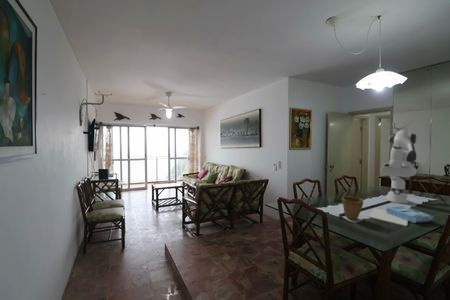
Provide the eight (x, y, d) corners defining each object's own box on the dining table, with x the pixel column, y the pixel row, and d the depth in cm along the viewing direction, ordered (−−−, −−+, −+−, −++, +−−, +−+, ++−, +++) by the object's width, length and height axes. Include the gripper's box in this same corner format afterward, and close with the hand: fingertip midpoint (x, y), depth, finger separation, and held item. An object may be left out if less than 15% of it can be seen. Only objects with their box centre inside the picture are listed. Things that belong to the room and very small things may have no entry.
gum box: (385, 212, 187) (415, 223, 165) (386, 206, 186) (415, 217, 164) (402, 211, 192) (432, 222, 170) (403, 205, 191) (433, 215, 169)
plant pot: (342, 213, 184) (344, 195, 182) (363, 218, 174) (364, 199, 173) (339, 218, 172) (340, 199, 171) (360, 223, 163) (362, 203, 161)
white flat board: (374, 209, 197) (375, 208, 197) (408, 216, 181) (409, 215, 181) (369, 217, 177) (369, 216, 177) (406, 226, 160) (406, 225, 160)
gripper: (411, 166, 180) (410, 182, 181) (382, 163, 194) (380, 178, 195) (411, 167, 175) (409, 183, 177) (380, 164, 189) (379, 179, 191)
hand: (394, 180), depth 186 cm, fingers closed
